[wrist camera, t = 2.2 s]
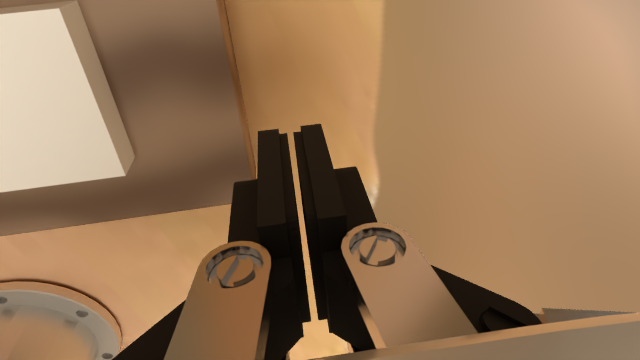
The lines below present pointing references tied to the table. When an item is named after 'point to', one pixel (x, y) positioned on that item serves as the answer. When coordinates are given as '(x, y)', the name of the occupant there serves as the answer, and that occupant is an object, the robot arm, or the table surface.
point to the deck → (154, 117)
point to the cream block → (55, 102)
